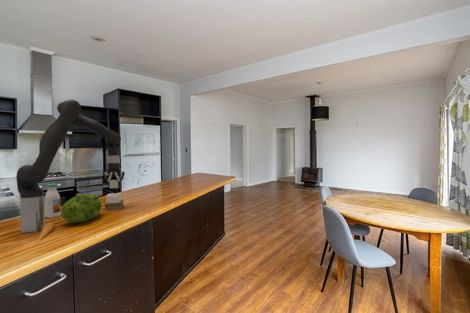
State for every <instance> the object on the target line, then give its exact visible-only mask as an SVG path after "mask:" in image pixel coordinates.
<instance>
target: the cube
mask: <svg viewBox="0 0 470 313" xmlns="http://www.w3.org/2000/svg"><path fill="white" fill-rule="evenodd" d="M109 183H110V187H109V189H118V188H119V187H118V179H111V180H110V181H109Z"/></svg>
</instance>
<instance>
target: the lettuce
mask: <svg viewBox="0 0 470 313" xmlns="http://www.w3.org/2000/svg"><path fill="white" fill-rule="evenodd" d="M102 205H103V201H102V199H101V198H100V197H99V196H98V195H96V194H92V193H82V194H76V195H75V196H73V197H71V198H70V199H67V200H66V201H65V202H64V203H63V205H62V207H61V216H62V218H63V219H64V220H65V221H66V222H67V223H69V224H70V223H71V224H78V223H83V222H87V221H89V220H91V219H93V218H94V217H96V216H97V215H98V214H99V213H100V211H101V208H102Z"/></svg>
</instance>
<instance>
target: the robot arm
mask: <svg viewBox="0 0 470 313" xmlns="http://www.w3.org/2000/svg"><path fill="white" fill-rule="evenodd" d="M56 110H57V112H58V113H59V115H58V117H57V118H56V119H55V120H54V121H53V122H52V123H51V124H50V125H49V126H48V128H46V129H45V131H44V133H43V135H42V136H41V138H40V140H39V145H38V146H39V153H38V155H37V158H35V161H34V162H33V164H24V165H22V166H21V167H19V168H18V170H17V172H16V185H17V192H18V194H19V200H20V204H19V205H20V226H21V227H20V228H21V229H20V230H21V234H25V233H35V232H38V231H42V230H43V227H44V225H45V224H46V222H45V220H46V219H45V218H46V217H45V203H44V201H45V191H44V189H42V188H41V187H40V186H39V184H40V183H42V182H43V181H44V180H45V179H46V178H47V176H48V174H49V171H50V169H51V166H52V164H53V161H54V159H55V157H56V156H57V153H58V151H59V150H60V148H61V146H62V144H63V142H64V140H65V139H66V136H67V134H68V133H69V130H70V129H71V126H72V125H73V123H74V122H75V123H77V124H79V125H81V126H82V127H85V128H86V129H88V130H89V131H91V132H93V133H94V134H96V135H97V136H99V137H101V138H104V139H105V146H106V149H107V171H104V172H102V176H103V179H104V182H107V186H108V188H110V183H109V181H110V180H112V178H116V180H118V188H119V187H120V186H121V181H123V180H124V177H125V172H126V171H123V170H121V164H120V163H121V161H120V160H121V159H120V148H119V147H118V146H117V144H119V143H120V142H121V140H122V138H121V135H120V134H119V133H117V132H116V131H114V130H113V129H111V128H108V127H106V126H105V125H104V124H102V123H101V122H98V121H97V120H95V119H93V118H91V117H88V116H86V115H83V114H82V113H81V110H82V106H81V104H80V102H79V101H78V100H76V99H67V100H64V101H60V102H59V104H58V105H57V107H56ZM107 174H108V177H107ZM120 175H121V178H120Z"/></svg>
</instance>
